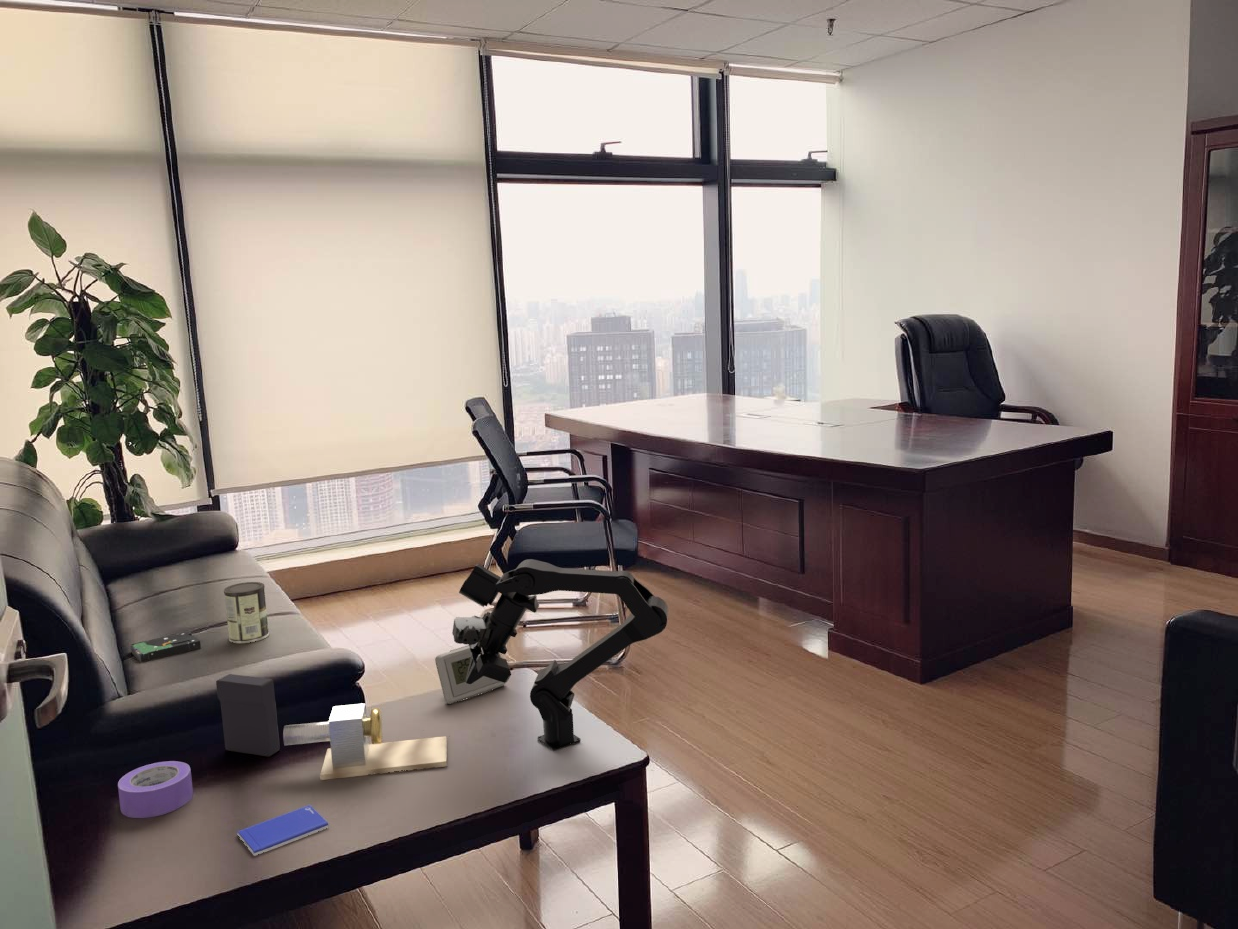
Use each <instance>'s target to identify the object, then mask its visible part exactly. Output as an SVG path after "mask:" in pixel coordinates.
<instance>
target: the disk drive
mask: <svg viewBox="0 0 1238 929" xmlns="http://www.w3.org/2000/svg"><path fill="white" fill-rule="evenodd" d="M201 646H202V645H201V640H200V639H199V638H198V637H196V636H195V635H194V634H193V633H192V632H191V631H189V630H188V631H184V632H180V633H176V634H171V635H166V636H163V637H158V638H153V639H149V640H145V641H139V642H137V643H131V644H130V652H131V654H132V655H133V656H134V657H135V658H136V659H137V660H138V662H140V663H144V662H148V661H153V660H156V659H160V658H164V657H170V656H173V655H177V654H182V653H186V652H190V651H195V650H198V649H201V648H202V647H201Z"/></svg>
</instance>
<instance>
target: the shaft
mask: <svg viewBox="0 0 1238 929" xmlns="http://www.w3.org/2000/svg"><path fill="white" fill-rule="evenodd" d="M381 709H382V708H380V707H379V708H371V709H370V716H369V717H367V716H366V718H364V719H363V729H364V737H368V738H369V737H370V738H371V739H370V740H371V744H382V743H383V717H382V716H383V715H382V710H381ZM282 740H283V744H284V746H292V745H303V744H304V745H305V744H312V743H313V744H314V743H320V742H330V732H329V720H327V721H319V722H310V723H309V722H308V723H300V724H299V723H298V724H289V725H287V724H286V725H284V726H283V733H282Z"/></svg>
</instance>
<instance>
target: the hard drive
mask: <svg viewBox="0 0 1238 929" xmlns="http://www.w3.org/2000/svg"><path fill="white" fill-rule="evenodd" d="M329 825H330V824H329V823H328V820H326V819H325V818H324V817H323V816H322V815H321V814H320V813H319V812H318V811H317V810H316V809H315V808H314V807H313V806H312V805H311V804H308V805H305V806H302V807H300V808H298V809H294V810H292V811H289V812H286V813H284V814H280V815H279V816H276V817H273V818H270V819H267V820H265V821H261V822H259V823H256V824H253V825H252V826H248V827H246V828H244V829H243V828H242V829H241V830H238V831H236V834H237V835H238V836H239V837H240V838H239V837H238V836H237V837H238V838H239V839H240V841H241V840H242V841H243V842H244V843H243V842H242V841H241V842H242V843H243V844H244V846H245V847H246V846H247V847H248V848H247V847H246V848H247V849H248V851H250V853H251V854H252V855H253V857H257V856H258V854H259V855H261V854H263V852H264V853H266V852H269V851H272V850H275V849H277V848H280V847H282V846H284V845H287V844H290V843H292V842H295V841H297V840H300V839H304V838H305V837H308V835H309V836H311V835H315V834H316V833H319V832H321V831H324V830H327V829H329V828H330V826H329ZM326 828H327V829H326ZM323 829H324V830H323ZM318 831H319V832H318Z"/></svg>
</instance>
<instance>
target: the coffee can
mask: <svg viewBox="0 0 1238 929" xmlns="http://www.w3.org/2000/svg"><path fill="white" fill-rule="evenodd" d="M265 586H266V585H265V584H264V583H263V582H259V581H247V582H246V581H245V582H239V583H235V584H231V585H228V586H227V587H225V588H223V590H222V591H223V593H224V602H225V611H226V613H225V614H226V619H227V620H226V621H227V630H228V641H229V642H230V643H232V642H233V643H232V644H251V643H256V642H258V641H262V640H264V639H266V638H268V637H269V635H270V632H269V623H268V613H267V612H268V611H267V604H266V603H267V602H266V593H265ZM255 641H256V642H255ZM250 642H251V643H250Z"/></svg>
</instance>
